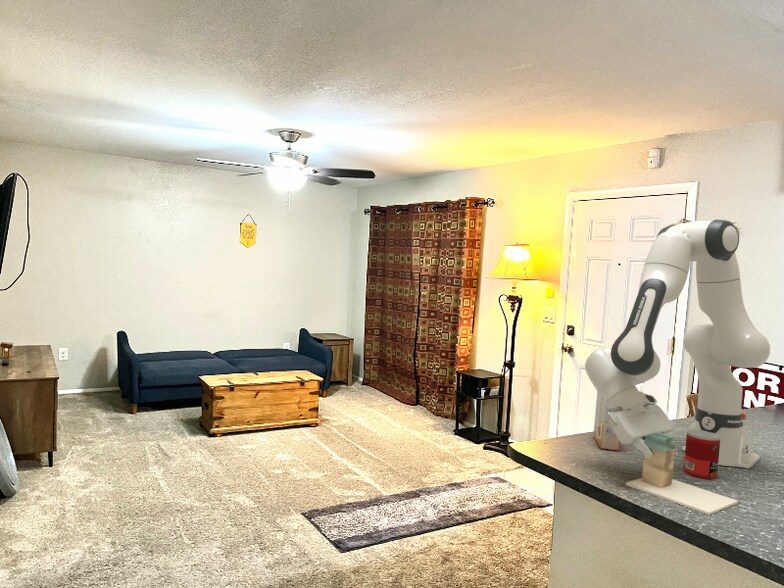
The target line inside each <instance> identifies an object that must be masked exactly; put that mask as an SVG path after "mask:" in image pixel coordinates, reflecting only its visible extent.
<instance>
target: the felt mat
mask: <svg viewBox="0 0 784 588" xmlns="http://www.w3.org/2000/svg"><path fill="white" fill-rule="evenodd" d="M625 486H628V487H631V488H633V489H636V490H638V491H641V492H644V493H647V494H649V495H652V496H654V497H657V498H660V499H663V500H665V499H666V501H669V502H672V503H674V504H676V503H677V505H679V504H680V506H682V505H683V506H682V507H685V508H687V507H688V509H691V510H693V511H695V512H698V511H699V513H701V512H702V513H701V514H704V513H705V514H704V515H707V514H708V515H707V516H711V515H713V513H714V514H715V513H716V514H717V513H718V512H721V511H723V510H725V508H726V509H728V508H731V507H733V506H736V505H738V504H739V500H736V499H733V498H731V497H727V496H724V495H721V494H718V493H715V492H713V491H710V490H706V489H703V488H701V487H698V486H695V485H691V484H689V483H686V482H683V481H679V480H677V479H673V478H672V485H670V486H667V487H664V488H659V487H656V486H653V485H650V484H647V483H644V482H642V477H640V478H637V479H634V480H631V481H627V482H625ZM735 504H736V505H735ZM732 505H733V506H732ZM730 506H731V507H730ZM722 509H723V510H722ZM720 510H721V511H720ZM710 514H711V515H710Z"/></svg>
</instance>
